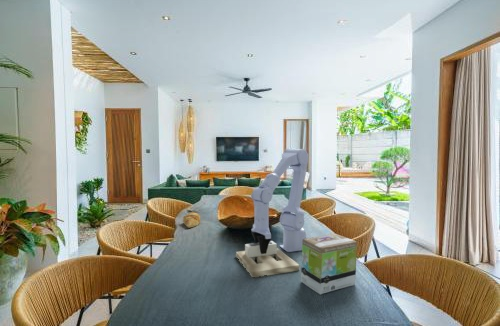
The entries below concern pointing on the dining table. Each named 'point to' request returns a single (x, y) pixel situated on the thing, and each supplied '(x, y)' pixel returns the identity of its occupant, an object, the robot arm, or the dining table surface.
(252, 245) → the white and grey block
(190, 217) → the croissant
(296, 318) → the dining table surface
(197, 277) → the dining table surface
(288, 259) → the keyhole board
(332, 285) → the tea box
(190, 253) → the dining table surface
